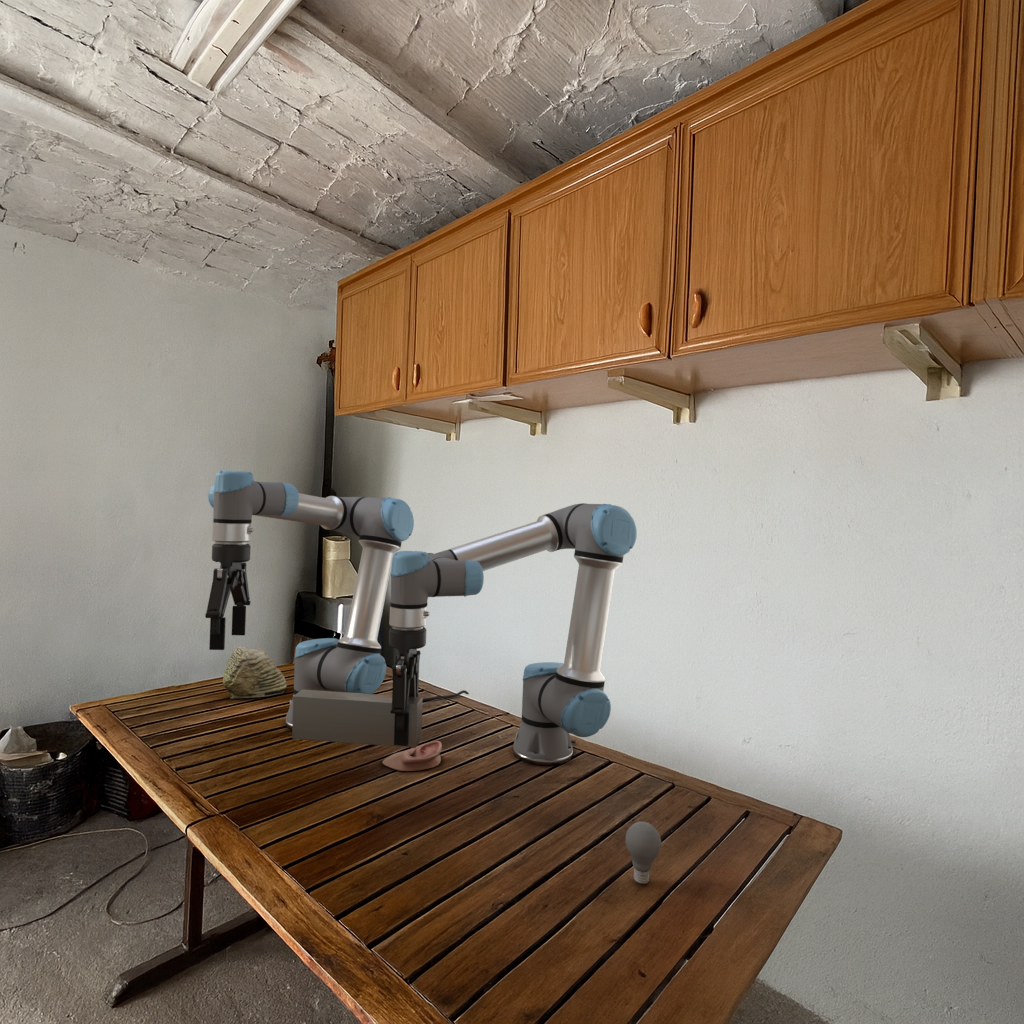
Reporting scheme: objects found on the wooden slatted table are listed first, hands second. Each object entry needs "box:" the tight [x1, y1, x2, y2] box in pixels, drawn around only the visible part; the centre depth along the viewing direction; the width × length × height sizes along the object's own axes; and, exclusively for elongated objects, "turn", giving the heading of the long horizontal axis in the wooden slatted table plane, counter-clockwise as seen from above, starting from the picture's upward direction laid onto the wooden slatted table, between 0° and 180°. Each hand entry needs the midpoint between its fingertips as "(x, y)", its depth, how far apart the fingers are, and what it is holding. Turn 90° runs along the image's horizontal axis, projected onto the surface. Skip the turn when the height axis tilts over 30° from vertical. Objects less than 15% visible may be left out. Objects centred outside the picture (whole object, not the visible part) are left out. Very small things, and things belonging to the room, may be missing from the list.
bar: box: [291, 690, 424, 749], centre depth 131 cm, size 26×5×9 cm, turn 85°
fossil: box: [222, 646, 288, 699], centre depth 198 cm, size 9×18×15 cm, turn 132°
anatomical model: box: [382, 740, 443, 772], centre depth 153 cm, size 13×4×12 cm
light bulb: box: [624, 821, 662, 884], centre depth 108 cm, size 6×6×10 cm
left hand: (228, 642), depth 135 cm, fingers open, 13 cm apart
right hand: (404, 739), depth 130 cm, fingers closed on bar, 5 cm apart
